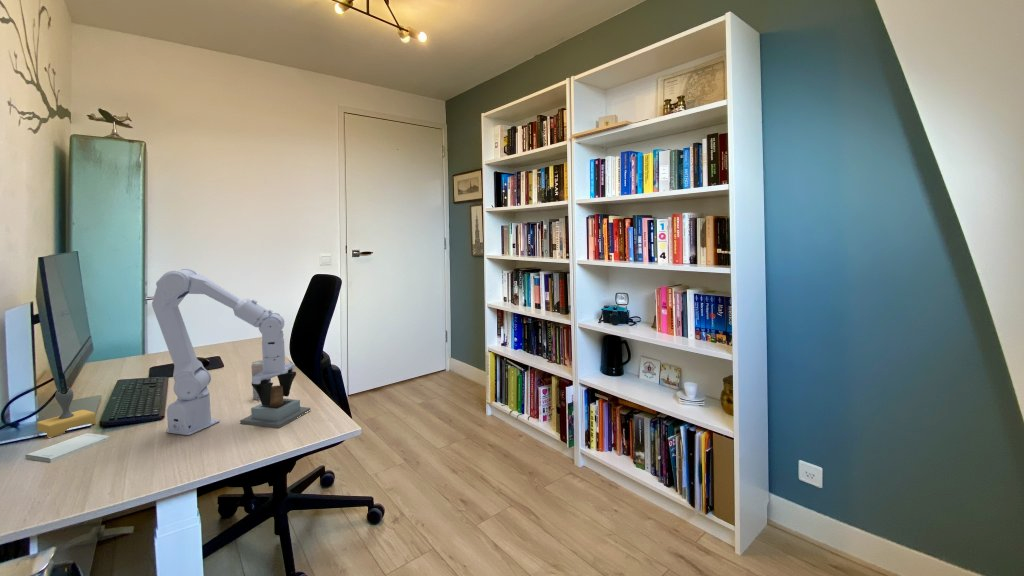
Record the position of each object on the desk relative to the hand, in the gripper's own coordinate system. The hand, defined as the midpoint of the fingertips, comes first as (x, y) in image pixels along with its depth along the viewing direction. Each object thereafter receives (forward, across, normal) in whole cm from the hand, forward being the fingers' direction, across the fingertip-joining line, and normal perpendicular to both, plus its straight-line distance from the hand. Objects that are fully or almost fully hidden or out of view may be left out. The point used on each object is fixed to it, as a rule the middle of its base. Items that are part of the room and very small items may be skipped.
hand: (275, 400), depth 129 cm
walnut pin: (+4, 0, 0) cm, 4 cm away
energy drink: (+5, +13, +17) cm, 22 cm away
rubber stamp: (+6, -21, +49) cm, 54 cm away
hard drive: (+6, -29, +35) cm, 46 cm away
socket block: (+5, 0, 0) cm, 5 cm away
